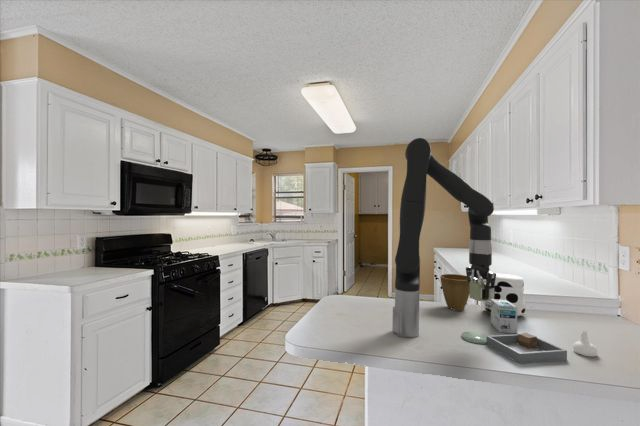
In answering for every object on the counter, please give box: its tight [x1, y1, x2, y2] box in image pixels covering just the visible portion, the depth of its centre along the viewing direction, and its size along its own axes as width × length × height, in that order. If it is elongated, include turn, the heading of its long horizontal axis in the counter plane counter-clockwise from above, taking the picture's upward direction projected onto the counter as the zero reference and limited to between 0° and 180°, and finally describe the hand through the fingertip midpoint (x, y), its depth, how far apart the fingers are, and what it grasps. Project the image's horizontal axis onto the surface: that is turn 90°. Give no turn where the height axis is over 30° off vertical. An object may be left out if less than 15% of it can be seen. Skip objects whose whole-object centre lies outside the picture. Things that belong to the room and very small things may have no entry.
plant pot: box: [439, 273, 471, 311], centre depth 155 cm, size 15×15×16 cm
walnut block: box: [517, 332, 538, 350], centre depth 110 cm, size 4×4×4 cm
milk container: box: [482, 273, 526, 318], centre depth 147 cm, size 17×17×18 cm
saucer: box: [461, 331, 488, 345], centre depth 116 cm, size 10×10×1 cm
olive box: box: [468, 282, 491, 302], centre depth 115 cm, size 5×5×6 cm
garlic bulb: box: [572, 330, 599, 358], centre depth 105 cm, size 6×6×8 cm
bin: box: [486, 333, 568, 364], centre depth 105 cm, size 18×15×3 cm
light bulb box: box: [490, 299, 518, 334], centre depth 127 cm, size 11×7×11 cm, turn 168°
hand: (479, 297), depth 115 cm, fingers closed on olive box, 5 cm apart
